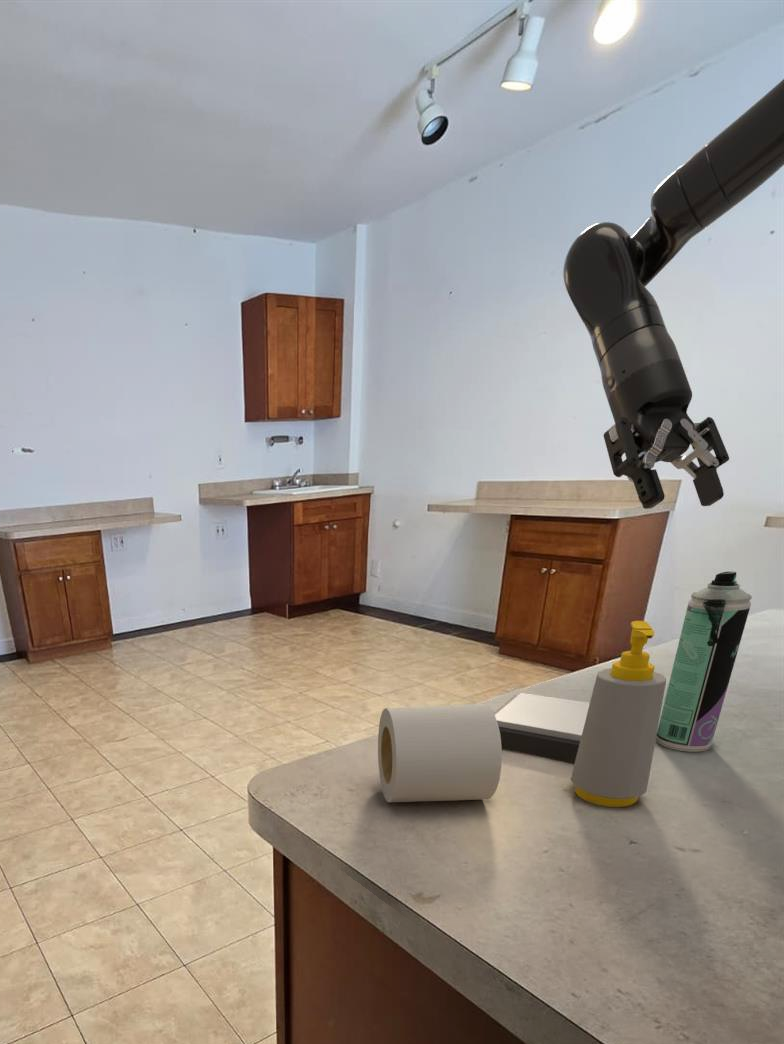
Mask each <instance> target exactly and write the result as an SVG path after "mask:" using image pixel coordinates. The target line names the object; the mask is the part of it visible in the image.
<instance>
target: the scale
mask: <svg viewBox="0 0 784 1044" xmlns="http://www.w3.org/2000/svg"><path fill="white" fill-rule="evenodd" d="M589 705H590V702H587V701H580V700H579V701H578V700H573V699H567V698H559V697H553V696H545V695H538V694H532V693H526V692H520V693H519V694H518V695H516V694H515V695H514V696H512V697H511V698H510V699H509V700H508V701H507V702H505V703H504V704H503V705H502V706H500V707H499V708H498V709H497V710H495V712H494V714H495V717H496V719H497V723H498V726H499V731H500V737H501V746H502V750H506V751H507V750H508V751H512V752H517V753H522V754H526V755H530V756H531V755H532V756H537V757H541V758H547V759H552V760H556V761H562V762H567V763H571V764H575V760H576V756H577V752H578V748H579V744H580V740H581V736H582V732H583V728H584V724H585V720H586V716H587V712H588V708H589Z"/></svg>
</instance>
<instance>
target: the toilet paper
mask: <svg viewBox="0 0 784 1044" xmlns="http://www.w3.org/2000/svg"><path fill="white" fill-rule="evenodd" d="M494 713H495V712H494V711H493V709H492V708H491V707H490V705H488V704H486V703H481V704H480V703H478V704H477V703H476V704H475V703H474V704H453V705H431V706H428V705H427V706H409V707H407V706H406V707H385V708H383V710H382V711H381V715H380V718H379V723H378V733H377V735H378V736H377V760H378V762H377V763H378V773H379V781H380V787H381V791H382V794H383V797H384V799H385V801H386V802H387V803H412V802H413V803H414V802H445V801H446V802H447V801H471V800H472V801H473V800H474V801H478V800H489V799H491V798H492V797H494V795H495V793H496V792H497V789H498V787H499V783H500V779H501V773H502V765H503V764H502V763H503V749H502V746H501V737H500V731H499V726H498V723H497V719H496V717H495V714H494Z"/></svg>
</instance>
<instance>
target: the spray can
mask: <svg viewBox="0 0 784 1044" xmlns="http://www.w3.org/2000/svg"><path fill="white" fill-rule="evenodd" d="M736 579H737V572H736V571H722V572H719V573H717V574H715V578H714V579H713V580H711V582H708V583H707V586H706V587H704V588H702V589H699V590H698V591H695V592H692V593H691V596H690V599H689V600H688V603H687V606H686V610H685V611H686V612H685V615H684V619H683V620H684V621H683V624H682V628H681V632H680V636H679V640H678V645H677V648H676V653H675V657H674V661H673V664H672V669H671V672H670V677H669V682H668V685H667V689H666V694H665V697H664V702H663V705H662V709H661V713H660V718H659V724H658V729H657V735H656V741H655V743H657V744H658V745H660V746H661V747H665V748H667V749H671V750H674V751H680V752H688V753H698V752H699V753H700V752H704V751H708V750H710V749H711V747H712V744H713V740H714V737H715V734H716V730H717V726H718V723H719V719H720V716H721V712H722V708H723V704H724V701H725V698H726V694H727V691H728V687H729V683H730V680H731V677H732V673H733V669H734V665H735V663H736V659H737V656H738V652H739V649H740V645H741V641H742V637H743V634H744V630H745V626H746V624H747V620H748V616H749V612H750V610H751V606H752V602H751V600H752V598H753V596H752V594H749V593H747V592H746V591H745V590H743V589H741V588H740V587H741V584H739V583H738V581H737V580H736Z"/></svg>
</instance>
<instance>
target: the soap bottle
mask: <svg viewBox="0 0 784 1044" xmlns="http://www.w3.org/2000/svg"><path fill="white" fill-rule="evenodd" d="M630 626H631V628H632V629H631V634H630V639H629V643H630V645H631V647H630V650H625V651H622V653H621V656H620V660H616V661H614V662H613V663H612V665H611V668H610V667H609V668H604V669H602V670H600V671H599V670H598V671H597V673H596V677H595V681H594V686H593V688H592V693H591V697H590V701H589V703H590V705H589V708H588V712H587V716H586V720H585V724H584V728H583V732H582V736H581V740H580V744H579V748H578V752H577V756H576V760H575V763H573V768H572V772H571V776H570V782H572V784H573V786H574V792H575V793H576V794H577V796H578V797H580V798H581V799H583V800H585V801H586V802H588V803H592V804H595V805H598V806H603V807H607V808H608V807H609V808H622V807H628V806H632V805H634V804H635V803H637V802H638V799H639V797H641V796H643V795H644V794H646V793H647V790H648V785H649V779H650V774H651V769H652V764H653V763H652V762H653V757H654V751H655V746H656V735H657V731H658V727H659V722H660V718H661V714H662V708H663V701H664V695H665V690H666V685H667V684H666V683H667V677H665V676H664V675H663V674H661V673H659V672H657V671H656V672H655V665H654V664H652V663H650V662H649V661H650V657H651V655H650V654H649V653H648V652H647V651H646V652H645V651H643V648H644V646H645V645H647V643H648V641H649V640H650V639H651V640H652V639H653V637H654V636H655V630H654V629H653V627H651V625H650V624H649V622H647V621H645V620H634V621H631V622H630Z"/></svg>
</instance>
